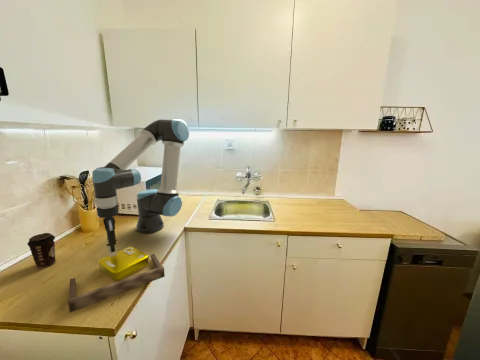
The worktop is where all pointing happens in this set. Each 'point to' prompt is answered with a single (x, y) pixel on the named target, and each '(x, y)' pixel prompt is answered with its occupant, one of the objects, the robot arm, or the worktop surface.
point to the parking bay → (113, 287)
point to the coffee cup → (43, 249)
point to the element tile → (123, 263)
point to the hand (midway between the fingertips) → (113, 257)
